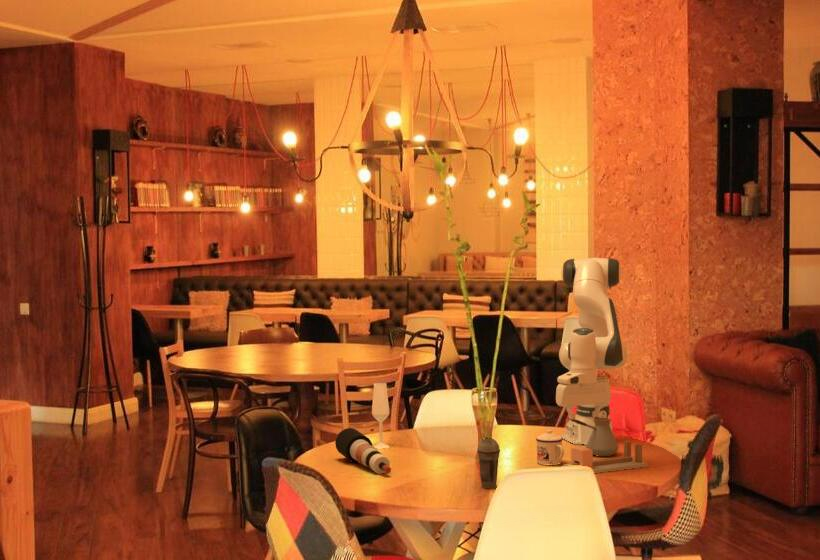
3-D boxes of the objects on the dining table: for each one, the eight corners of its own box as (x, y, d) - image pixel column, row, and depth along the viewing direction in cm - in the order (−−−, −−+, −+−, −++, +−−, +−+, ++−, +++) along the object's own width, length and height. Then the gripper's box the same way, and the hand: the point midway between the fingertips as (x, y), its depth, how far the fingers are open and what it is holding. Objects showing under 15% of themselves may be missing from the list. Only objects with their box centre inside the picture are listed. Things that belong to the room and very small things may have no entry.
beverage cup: (499, 483, 336) (498, 422, 335) (501, 489, 328) (501, 426, 327) (476, 484, 335) (475, 422, 334) (478, 489, 328) (478, 426, 327)
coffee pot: (605, 450, 384) (605, 409, 384) (625, 455, 374) (625, 414, 373) (557, 456, 375) (556, 415, 374) (576, 462, 364) (575, 419, 364)
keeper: (571, 464, 355) (571, 447, 354) (581, 463, 356) (580, 446, 356) (582, 468, 349) (582, 451, 348) (592, 467, 350) (592, 449, 350)
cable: (381, 490, 347) (369, 466, 344) (342, 460, 377) (330, 437, 374) (406, 474, 350) (395, 449, 347) (365, 445, 380) (354, 422, 377)
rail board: (563, 467, 356) (563, 447, 356) (625, 460, 367) (625, 439, 367) (583, 475, 346) (583, 453, 345) (647, 466, 356) (647, 445, 356)
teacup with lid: (531, 462, 366) (530, 429, 365) (551, 459, 370) (551, 426, 370) (552, 469, 355) (552, 435, 355) (573, 465, 360) (573, 431, 360)
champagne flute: (389, 448, 392) (388, 385, 391) (371, 448, 392) (370, 385, 391) (390, 445, 399) (389, 382, 398) (372, 445, 399) (371, 382, 398)
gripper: (603, 374, 358) (603, 414, 359) (553, 377, 350) (553, 419, 350) (614, 376, 353) (615, 416, 353) (563, 379, 344) (564, 421, 344)
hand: (584, 418), depth 351 cm, fingers open, 8 cm apart
